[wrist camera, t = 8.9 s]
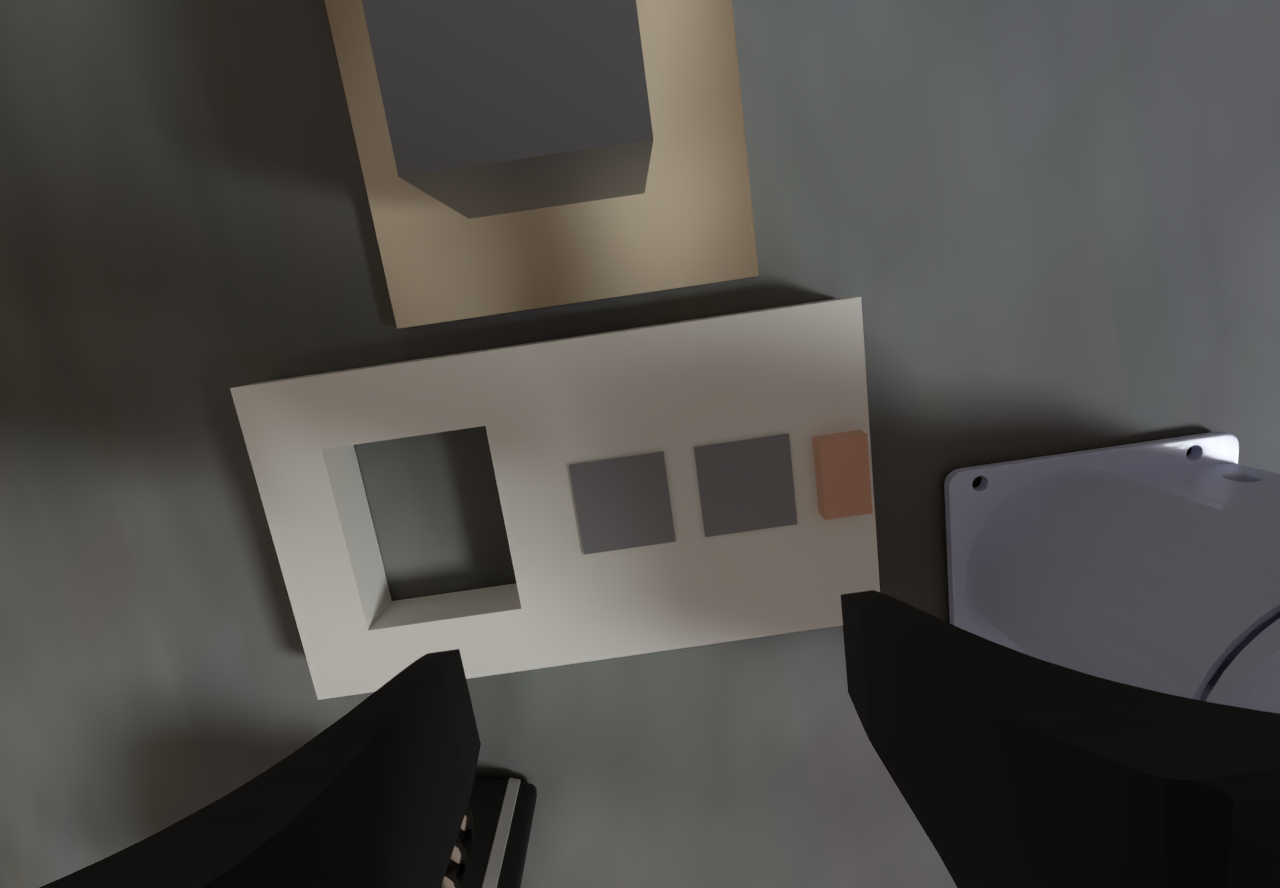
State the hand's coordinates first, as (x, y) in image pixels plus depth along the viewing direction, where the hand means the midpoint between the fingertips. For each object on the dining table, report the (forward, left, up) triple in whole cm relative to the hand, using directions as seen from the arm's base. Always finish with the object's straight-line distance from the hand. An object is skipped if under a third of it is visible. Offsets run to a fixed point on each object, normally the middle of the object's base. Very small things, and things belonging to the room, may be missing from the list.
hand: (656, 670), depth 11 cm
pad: (+1, -13, -9) cm, 16 cm away
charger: (+1, -12, -9) cm, 15 cm away
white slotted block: (+2, -1, -9) cm, 10 cm away
